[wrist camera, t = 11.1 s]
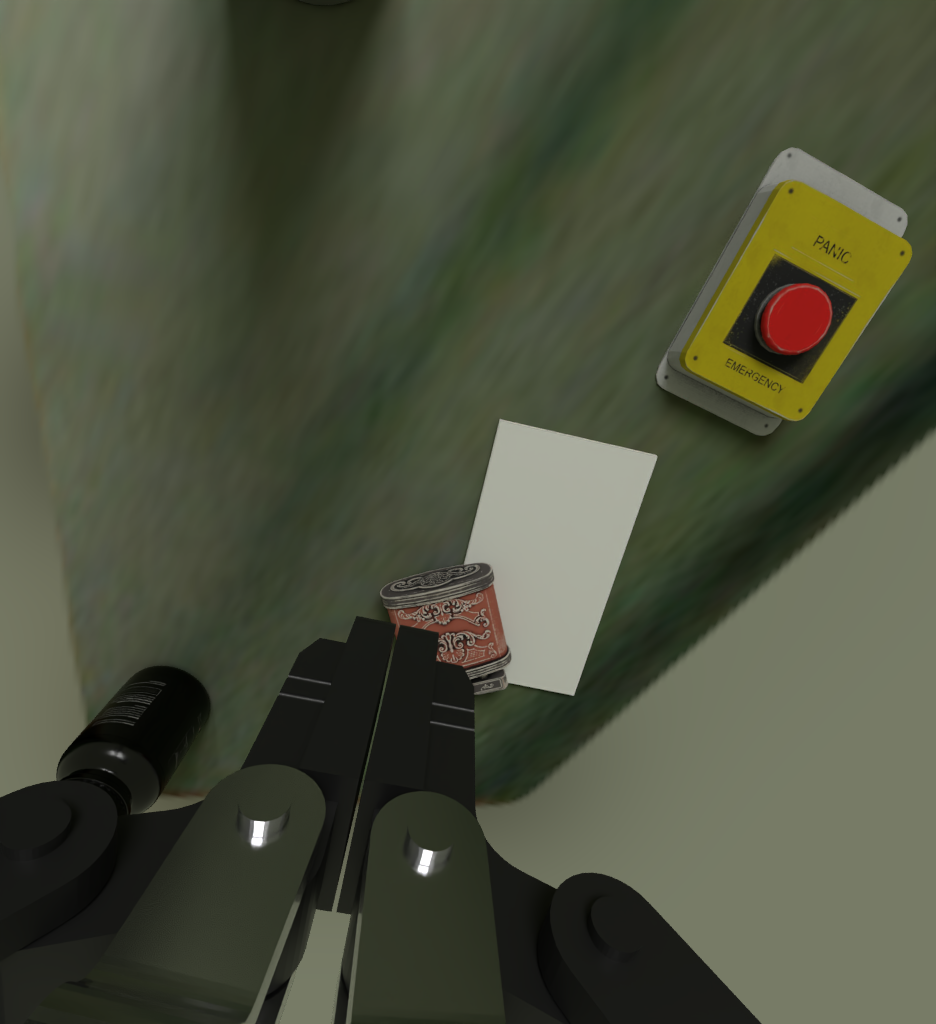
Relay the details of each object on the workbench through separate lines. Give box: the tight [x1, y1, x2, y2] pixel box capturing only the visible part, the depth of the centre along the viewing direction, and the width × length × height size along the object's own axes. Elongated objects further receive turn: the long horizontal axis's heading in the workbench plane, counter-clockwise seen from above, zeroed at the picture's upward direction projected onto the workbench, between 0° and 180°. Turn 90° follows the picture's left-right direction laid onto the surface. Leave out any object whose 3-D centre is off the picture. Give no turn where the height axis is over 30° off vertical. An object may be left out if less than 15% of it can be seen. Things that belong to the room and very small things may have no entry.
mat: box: [464, 419, 658, 696], centre depth 41 cm, size 11×20×1 cm, turn 167°
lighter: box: [380, 562, 512, 695], centre depth 41 cm, size 8×3×10 cm
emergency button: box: [656, 148, 912, 436], centre depth 34 cm, size 9×4×15 cm
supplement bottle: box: [56, 666, 210, 816], centre depth 40 cm, size 7×7×12 cm
